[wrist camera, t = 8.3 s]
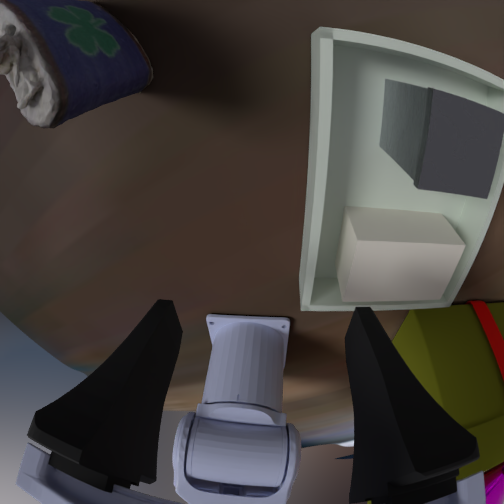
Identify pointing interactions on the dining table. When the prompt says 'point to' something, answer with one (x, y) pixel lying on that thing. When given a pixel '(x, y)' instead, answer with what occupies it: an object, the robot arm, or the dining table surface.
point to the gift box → (463, 376)
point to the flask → (67, 58)
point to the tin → (441, 138)
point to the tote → (379, 155)
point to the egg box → (395, 255)
